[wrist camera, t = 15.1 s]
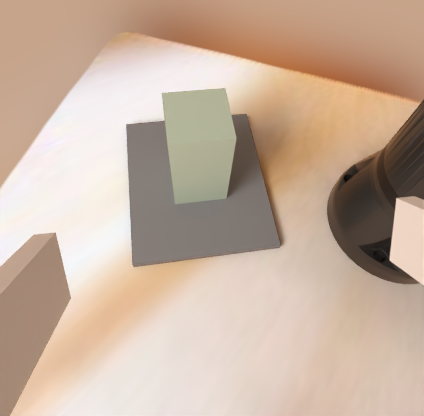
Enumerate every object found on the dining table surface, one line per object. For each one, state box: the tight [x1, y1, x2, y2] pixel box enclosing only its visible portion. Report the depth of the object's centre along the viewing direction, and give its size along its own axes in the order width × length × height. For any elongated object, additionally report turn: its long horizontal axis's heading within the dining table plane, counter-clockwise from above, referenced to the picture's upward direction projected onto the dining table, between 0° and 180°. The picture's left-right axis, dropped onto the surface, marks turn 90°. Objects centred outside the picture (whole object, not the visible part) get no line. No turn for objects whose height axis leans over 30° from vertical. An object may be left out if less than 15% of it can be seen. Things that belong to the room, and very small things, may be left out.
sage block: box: [162, 88, 236, 204], centre depth 35 cm, size 6×6×11 cm
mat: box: [126, 114, 280, 267], centre depth 40 cm, size 16×19×1 cm
